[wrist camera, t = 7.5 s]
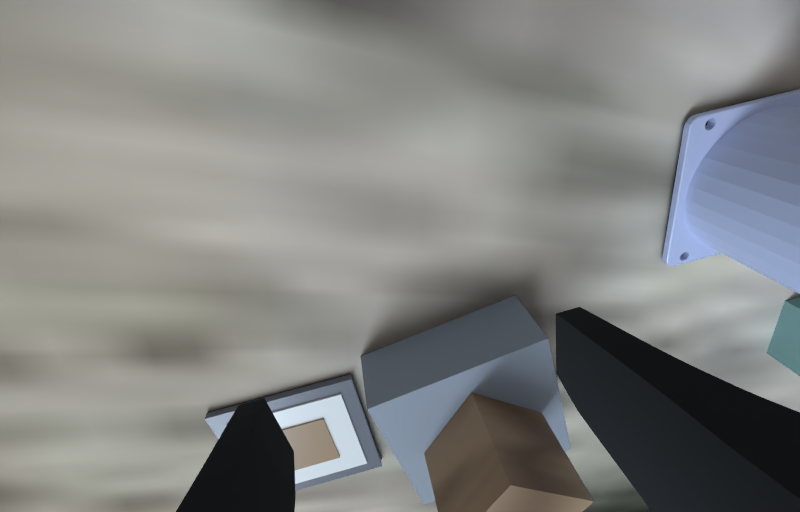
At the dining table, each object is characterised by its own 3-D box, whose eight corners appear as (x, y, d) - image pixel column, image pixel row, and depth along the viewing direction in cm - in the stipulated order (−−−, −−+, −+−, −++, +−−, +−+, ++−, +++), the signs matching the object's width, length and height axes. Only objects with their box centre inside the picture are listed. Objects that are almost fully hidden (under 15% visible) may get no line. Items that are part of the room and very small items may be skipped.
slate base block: (512, 291, 22) (548, 338, 18) (537, 394, 26) (570, 448, 23) (360, 351, 22) (367, 409, 18) (411, 444, 26) (424, 504, 23)
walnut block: (541, 412, 21) (593, 501, 17) (492, 467, 22) (529, 560, 18) (471, 392, 19) (510, 485, 15) (423, 453, 21) (447, 552, 17)
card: (350, 374, 22) (351, 382, 21) (381, 460, 26) (382, 468, 25) (206, 412, 21) (204, 422, 21) (259, 495, 25) (258, 504, 25)
